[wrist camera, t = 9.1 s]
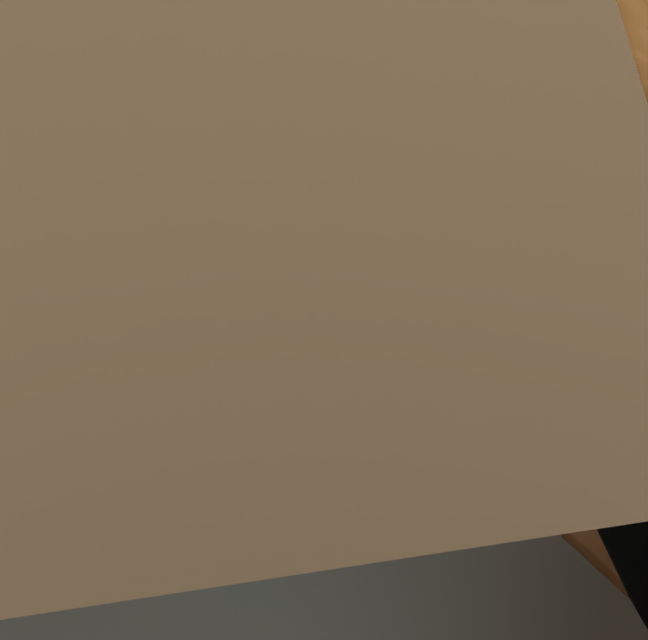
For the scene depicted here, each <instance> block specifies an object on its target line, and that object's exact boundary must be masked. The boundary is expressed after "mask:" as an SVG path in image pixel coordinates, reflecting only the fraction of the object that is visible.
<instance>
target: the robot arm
mask: <svg viewBox="0 0 648 640" xmlns="http://www.w3.org/2000/svg"><path fill="white" fill-rule="evenodd" d="M597 531H598V533H599V535H600V537H601V539H602V541H603V543H604V545H605V548H606V550H607V552H608V554H609V556H610V558H611V560H612V562H613V564H614V566H615V569H616V571H617V573H618V575H619V577H620V579H621V581H622V583H623V585H624V587H625V589H626V591H627V593H628V595H629V597H630V599H631V601H632V603H633V605H634V607H635V609H636V611H637V612H638V614H639V616H640V618H641V619H642V621H643V623H644V625H645V626H646V628H647V630H648V521H647V522H640V523H633V524H627V525H620V526H614V527H607V528H601V529H597Z"/></svg>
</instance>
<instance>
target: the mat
mask: <svg viewBox="0 0 648 640" xmlns="http://www.w3.org/2000/svg"><path fill="white" fill-rule="evenodd" d="M0 640H648V630H647V628H646V626H645V625H644V623H643V621H642V619H641V618H640V616H639V614H638V612H637V611H636V609H635V607H634V605H633V603H632V601H631V600H630V599H629V598H628V597H627V596H626V595H625V594H624V593H623V592H622V591H620V590H619V589H618V588H617V587H616V586H615V585H614V584H613V583H612V582H611V581H610V580H608V579H607V578H606V577H605V576H604V575H603V574H602V573H601V572H600V571H599V570H598V569H596V568H595V567H594V566H593V565H592V564H591V563H590V562H589V561H588V560H587V559H586V558H585V557H583V556H582V555H581V554H580V553H579V552H578V551H577V550H576V549H575V548H574V547H573V546H571V545H570V544H569V543H568V542H567V541H566V540H565V539H564V538H563V537H562V536H561V535H555V536H548V537H542V538H535V539H528V540H522V541H515V542H509V543H502V544H496V545H489V546H482V547H476V548H469V549H463V550H456V551H450V552H443V553H436V554H430V555H423V556H417V557H410V558H404V559H397V560H391V561H384V562H377V563H371V564H364V565H358V566H351V567H345V568H338V569H331V570H325V571H318V572H312V573H305V574H299V575H292V576H286V577H279V578H272V579H266V580H259V581H253V582H246V583H240V584H233V585H226V586H220V587H213V588H207V589H200V590H194V591H187V592H181V593H174V594H167V595H161V596H154V597H148V598H141V599H135V600H128V601H121V602H115V603H108V604H102V605H95V606H89V607H82V608H76V609H69V610H62V611H56V612H49V613H43V614H36V615H30V616H23V617H16V618H10V619H3V620H0Z"/></svg>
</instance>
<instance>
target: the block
mask: <svg viewBox="0 0 648 640" xmlns="http://www.w3.org/2000/svg"><path fill="white" fill-rule="evenodd" d="M647 521H648V103H647V100H646V96H645V93H644V90H643V87H642V83H641V80H640V77H639V73H638V70H637V67H636V64H635V60H634V57H633V54H632V50H631V47H630V44H629V40H628V37H627V34H626V31H625V27H624V24H623V21H622V17H621V14H620V11H619V8H618V4H617V1H616V0H0V620H3V619H10V618H16V617H23V616H30V615H36V614H43V613H49V612H56V611H62V610H69V609H76V608H82V607H89V606H95V605H102V604H108V603H115V602H121V601H128V600H135V599H141V598H148V597H154V596H161V595H167V594H174V593H181V592H187V591H194V590H200V589H207V588H213V587H220V586H226V585H233V584H240V583H246V582H253V581H259V580H266V579H272V578H279V577H286V576H292V575H299V574H305V573H312V572H318V571H325V570H331V569H338V568H345V567H351V566H358V565H364V564H371V563H377V562H384V561H391V560H397V559H404V558H410V557H417V556H423V555H430V554H436V553H443V552H450V551H456V550H463V549H469V548H476V547H482V546H489V545H496V544H502V543H509V542H515V541H522V540H528V539H535V538H542V537H548V536H555V535H561V534H568V533H574V532H581V531H587V530H594V529H601V528H607V527H614V526H620V525H627V524H633V523H640V522H647Z"/></svg>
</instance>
